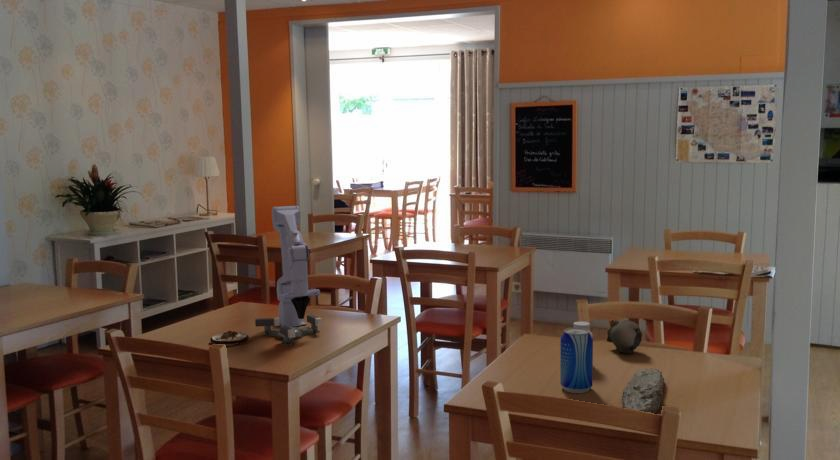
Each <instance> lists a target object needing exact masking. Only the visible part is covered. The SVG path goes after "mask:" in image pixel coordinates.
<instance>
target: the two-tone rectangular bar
mask: <svg viewBox="0 0 840 460" xmlns="http://www.w3.org/2000/svg"><path fill="white" fill-rule="evenodd" d="M279 329H280V333H281V334H283V335H284V343H291V338H293V337H295V329H292V328H290V327H287V326H285V325H283V326H282V325H279Z"/></svg>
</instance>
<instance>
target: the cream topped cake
mask: <svg viewBox="0 0 840 460" xmlns="http://www.w3.org/2000/svg"><path fill="white" fill-rule="evenodd" d="M249 339H250V337H249V335H248V334H247V333H246V332H242V331H239V332H237V331H235V330H228V331H226V332H225V331H224V332H221V333H217V334H215V335H213V336H211V337H210V342H211V344H212V343H213V344H225V345H226V346H227V348H229V347H235V346H236V347H237V346H240V345H243V343H244V344H248V343H249ZM213 344H212V345H213Z"/></svg>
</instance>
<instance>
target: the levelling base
mask: <svg viewBox="0 0 840 460" xmlns="http://www.w3.org/2000/svg"><path fill="white" fill-rule="evenodd" d="M290 328H292V329H295V337H293V338H291V343H284V335H283V334H281V333H280V328H277V327H273V328H271V330H268V333H265V332H262V335H263V336H270V337H276V338H277V339H278V340H281V341H283V342H282V343H281V344H282V345H283V346H292V345H294V340H299V339H301V338H303V337H304V336H306V335H307V336H308V335H313V334H318V333H320V332H321V331H320V330H319V329H318V331H313V328H311V327H310V326H305V327H300V326H295V327H290Z"/></svg>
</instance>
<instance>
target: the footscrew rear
mask: <svg viewBox="0 0 840 460" xmlns="http://www.w3.org/2000/svg"><path fill="white" fill-rule="evenodd" d="M254 322H255V327H256V328H257V327H264V329H263V330H264V333H268V330H271V329H272V327H278V326H279V327H280V324H279V317H266V318H264V317H263V318H262V317H261V318H255V321H254Z"/></svg>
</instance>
